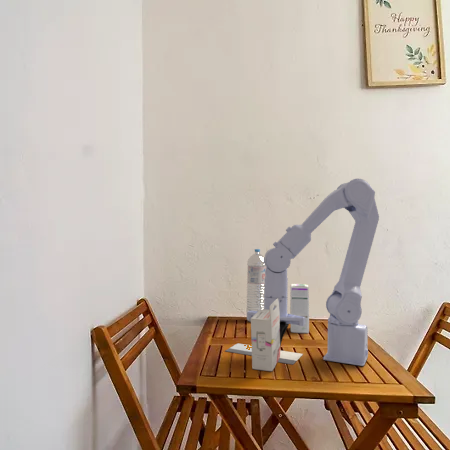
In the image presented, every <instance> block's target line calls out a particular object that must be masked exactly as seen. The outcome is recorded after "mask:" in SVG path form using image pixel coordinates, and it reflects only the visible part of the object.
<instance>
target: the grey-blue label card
mask: <svg viewBox="0 0 450 450" xmlns="http://www.w3.org/2000/svg"><path fill="white" fill-rule="evenodd" d="M244 345H246V346H244ZM247 345H249V347H252V346H250V344H243V343H239V342H238V343H236V344H234V345H233V346H231V347H229V348H228V349H226V350H224V352H227V353H232V354H233V353H234V354H239V355H245V356H250V357H252V348H250V350H248V349H249V348H248V349H246V348H247Z"/></svg>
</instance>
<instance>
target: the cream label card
mask: <svg viewBox="0 0 450 450" xmlns="http://www.w3.org/2000/svg"><path fill="white" fill-rule="evenodd" d="M303 355H304V353H299V352H293V351H287V350H281V349H280V358H279V360H278V362H277V363H280V364H286V365H292V366H293V365H294V364H296V362H297V361H298V360H299V359H300V358H301V357H303Z"/></svg>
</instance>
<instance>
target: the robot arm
mask: <svg viewBox="0 0 450 450" xmlns="http://www.w3.org/2000/svg"><path fill="white" fill-rule="evenodd" d="M375 194H376V191H375V190H374V189H373V187H372V186H371V185H370V183H368V181H367V180H365V179H363V178H353V179H351V180H349V181H348V182H344V183H341V184H340V185H339V186H338V187H337V188H336V189H335V190H333V191H332V192H330V193H329V194H328V195H327V196H326V197H324V199H323V200H322V201H321V202H320V203H319V205H317V207H316V208H315V209H314V210H313V211H312V212H311V214H310V215H309V216H307V218H306V219H305V220H304V221H303V222H302V223H301V224H293V225H292V226H288V227H287V228H286V229H285V231H286V232H285V234H283V236H282V237H281V238H280V239H279V240H278V241H275V242H273V243H272V246H273V248H269V249H268V250H266V252H265V253H264V256H263V257H264V258H263V261H264V264H265V266H266V267H267V268H266V270H265V275H266V276H265V285H264V309H269V307H270V305H271V304H272V303H273V302H274V301H275V300H276V299H277V298H278V301H279V310H280V347H281V345H282V341H283V339H284V336H285V333H286V331H287V329H288V327H289V325H291V324H294V325H299V326H304V325H305V317H303V316H297V315H292V314H290V313H288V292H289V289H288V287H289V286H288V283H289V282H288V281H289V280H288V279H289V278H288V269H289V268H290V265H291V262H292V261H291V260H293V259H295V258H296V257H297V256H298V255H299V254H300V253H301V252H302V251H303V250H304V249H305V248H306V246H308V244H309V243H310V242H311V241H312V233H313V232H314V231H315V230H316V229H317V228H319V226H320V225H321V224H322V223H324V221H325V220H327V218H328V217H329V216H331V215H332V214H333V212H335V211H338V210H341V209H345V210H346V211H347V212H348V213H349V214H350V216H351V217H352V218H353V220H354V222H355V223H354V226H353V229H352V233H351V235H350V236H351V237H350V240H349V243H348V247H347V251H346V254H345V257H344V261H343V265H342V268H341V272H340V276H339V280H338V281H337V283H336V284H335V285H334V287H333V290H332V292H331V294H330V295H329V296H328V297H327V298H326V301H325V308H326V310H327V312H328V313H329V317H328V318H327V352H326V353H325V355H324V356H323V358H322V359H323V360H324V361H328V362H336V363H341V364H347V365H348V364H349V365H354V366H361V367H364V366H365V364H366V362H367V359H368V357H369V349H368V334H369V333H368V326H367V325H366V324H360V323H359V320H360V318H361V317H362V306H361V304H362V297H363V295H362V291H361V285H362V281H363V278H364V274H365V270H366V267H367V263H368V260H369V256H370V253H371V249H372V246H373V242H374V238H375V234H376V230H377V227H378V224H379V220H380V214H379V211H378V207H377V203H376V199H375V196H376V195H375ZM275 308H276V306H274V308H273V310H275ZM257 312H258V311H248V312H247V311H246V320H247V319H248V320H251V318H252V317H253V316H254V315H255V314H256V313H257Z"/></svg>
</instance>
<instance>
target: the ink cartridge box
mask: <svg viewBox="0 0 450 450" xmlns="http://www.w3.org/2000/svg"><path fill="white" fill-rule="evenodd" d="M274 306H276V308H275V310H273V308H274ZM250 337H251V345H252V356H251V366H252V368H251V369H252V370H258V371H266V372H273V371H274V369H275V368H276V366H277V363H279V362H278V360H279V358H280V350H281V346H280V310H279V301H278V298H277V299H276V300H275V301H274V302H273V303H272V304H271V305H270V307H269V309H260V310H259V311H258V312H257V313H256V314H255V315H254V316H253V317H252V318H251V322H250Z"/></svg>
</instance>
